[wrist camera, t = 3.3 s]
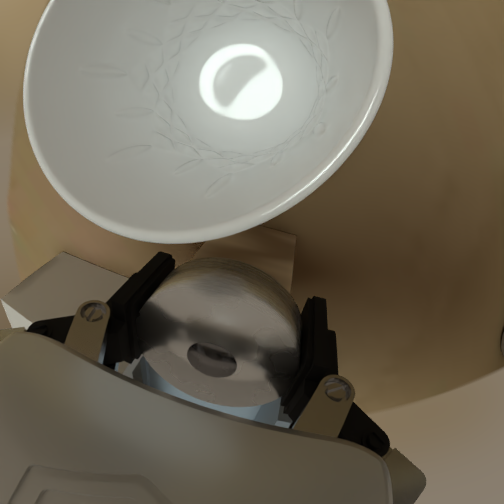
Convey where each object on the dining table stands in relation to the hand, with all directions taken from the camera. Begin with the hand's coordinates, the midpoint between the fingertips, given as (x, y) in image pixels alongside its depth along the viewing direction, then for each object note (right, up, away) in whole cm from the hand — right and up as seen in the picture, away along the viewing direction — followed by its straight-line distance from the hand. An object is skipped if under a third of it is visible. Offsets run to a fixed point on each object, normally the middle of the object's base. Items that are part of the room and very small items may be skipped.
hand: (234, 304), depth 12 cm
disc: (0, -1, -1) cm, 1 cm away
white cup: (+1, +10, 0) cm, 10 cm away
